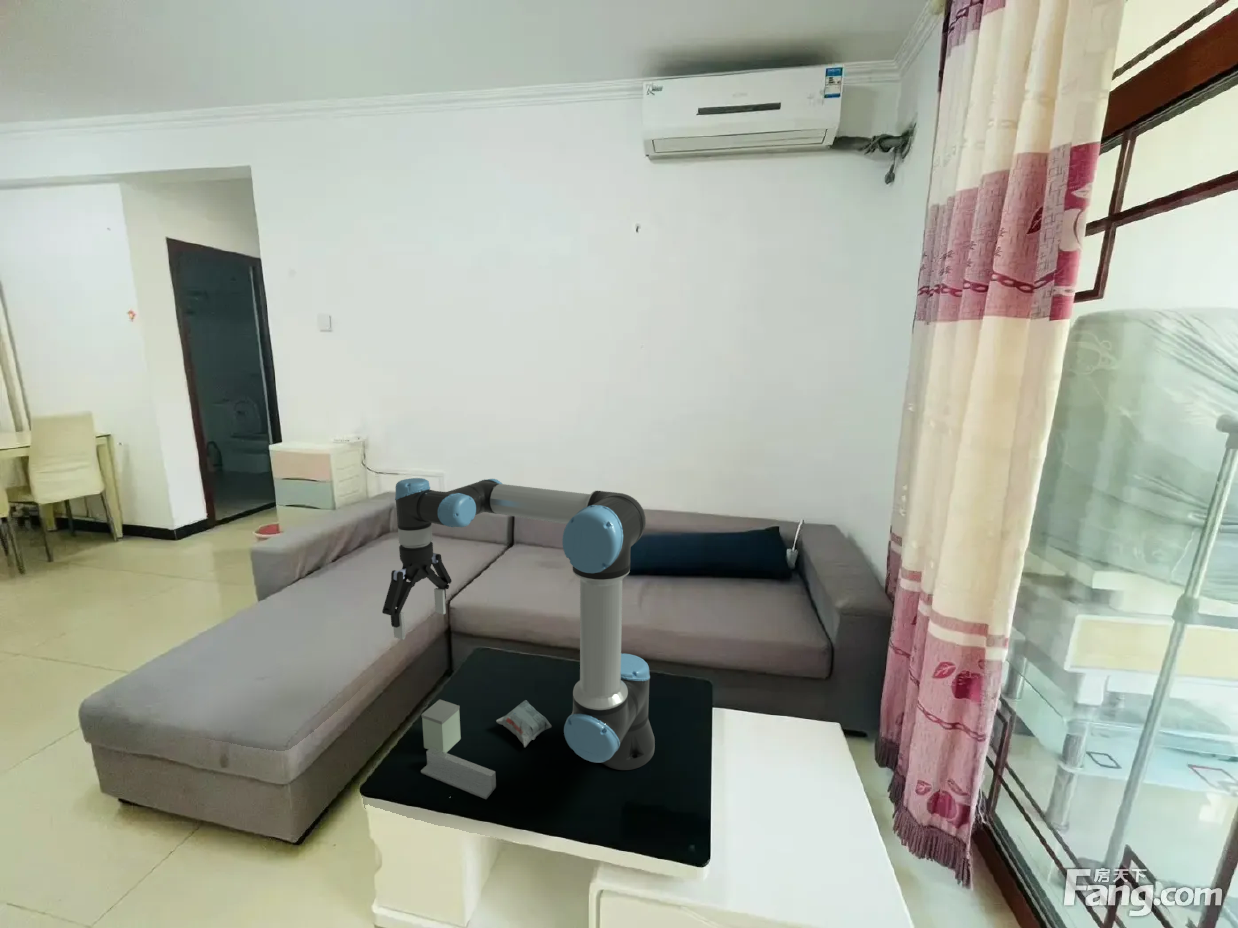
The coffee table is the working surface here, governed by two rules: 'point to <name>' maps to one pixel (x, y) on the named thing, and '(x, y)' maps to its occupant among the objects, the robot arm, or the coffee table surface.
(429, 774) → the rail
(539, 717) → the packaged food
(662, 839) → the coffee table surface
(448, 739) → the tea tin
